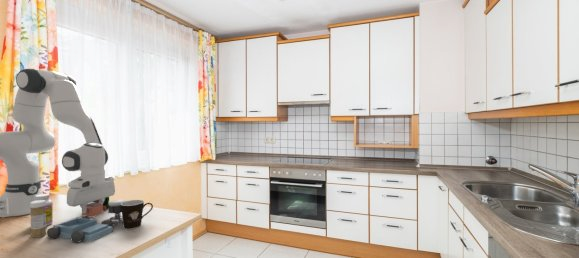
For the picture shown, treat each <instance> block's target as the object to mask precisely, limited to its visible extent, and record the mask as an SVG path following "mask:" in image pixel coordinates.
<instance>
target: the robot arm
mask: <svg viewBox="0 0 579 258" xmlns="http://www.w3.org/2000/svg"><path fill="white" fill-rule="evenodd" d="M15 83H16V85H17V87H18V89H17V91H16V94H15V99H14V102H13V103H14V104H13V108H12V115H11V116H12V119H13V120H14V122H16V123H18V124H20V125H22V126H23V130H22V131H21V130H17V131H2V132H0V160H1V161H2V162H3V163H4V165H5V168H6V171H7V172H6V173H7V184H6V185H4V188H5V190H4V192H3V193H2V194H1V195H0V217H2V218H8V217H17V216H24V215H31V208H30V203H31V202H33V201H36V200H35V196H36V195H39V194H44V191H43V190H42V189H41V187H42V186H41V185H42V183H41V180H40V165H39V164H38V163H36V162H34V161H31V160H29V159H28V157H27V155H29V154H36V153H44V152H46V151H47V152H48V151H50V150H52V149H53V148H54V147H55V145H56V137H55V136H54V134H53V133H52V132H50V131H49V130H48V129H47V127H46V124H45V115H46V109H47V103H48V98H49V102H50V109H51V113H52V115H53V118H55V119H56V120H57V121H59V122H60V123H62V124H64V125H67V126H70V127H73V128H75V129H77V130H79V131H80V132H81V133H82V134H83V137H84V140H85V143H83V144H82V145H81V146H80V147H78V148H74V149H71V150H67V151H66V152H65V153H64V154H63V155H62V158H61V165H62V167H63V168H64V169H65V170H66V171H69V172H79V171H80V175H79V176H78V177H76V178H75V179H72V180H71V181H69V182H68V183H67V185H68V187H69V189H68V190H67V193H66V205H67V206H68V207H78V206H79V207H80V208H81V213H82V212H83V213H88V212H89V209H88V208H86V205H87V203H89V202H92V201H96V200H99V203H100V204H103V202H104V201H105V198H106V197H109V198H110V197H113V196H114V195H115V194H116V188H115V181H114V180H115V179H114V177H113V176H111V175H110V176H106V170H105V165H107V162H108V161H109V154H108V153H107V150H106V149H105V147H104V145H103V142H102V139H101V137H100V134H99V133H98V130H97V127H96V125H95V122H94V121H93V119H92V117H91V116H89V115H88V114H87V113H86V111H85V108H84V107H83V105H82V104H83V103H82V99H81V96H80V94H79V91H78V89H77V82H76V79H75V78H74V77H73V76H71V75H69V74H66V73H62V72H61V73H60V72H58V71H53V70H43V69H35V68H24V69H21V70H20V71H18V73H17V74H16V78H15Z"/></svg>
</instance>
